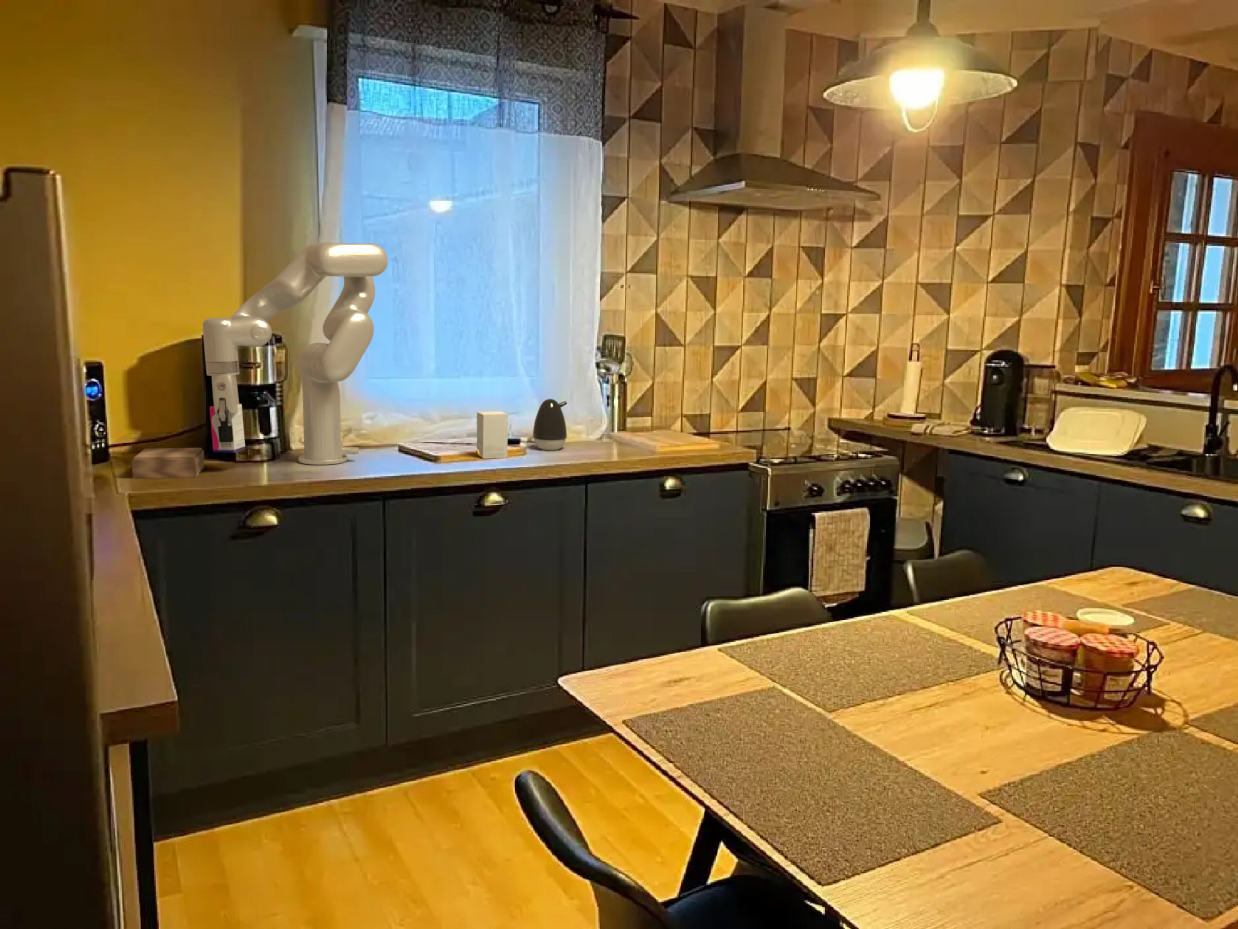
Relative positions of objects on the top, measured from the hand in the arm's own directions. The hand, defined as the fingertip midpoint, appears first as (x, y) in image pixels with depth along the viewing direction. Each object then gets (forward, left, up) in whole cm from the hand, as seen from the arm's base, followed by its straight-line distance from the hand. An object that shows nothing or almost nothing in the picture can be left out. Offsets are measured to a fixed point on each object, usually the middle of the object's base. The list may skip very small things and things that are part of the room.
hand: (228, 438), depth 242 cm
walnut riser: (+14, 0, -8) cm, 16 cm away
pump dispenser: (-87, -26, -8) cm, 91 cm away
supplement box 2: (-68, -15, -8) cm, 70 cm away
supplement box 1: (0, 0, -3) cm, 3 cm away
